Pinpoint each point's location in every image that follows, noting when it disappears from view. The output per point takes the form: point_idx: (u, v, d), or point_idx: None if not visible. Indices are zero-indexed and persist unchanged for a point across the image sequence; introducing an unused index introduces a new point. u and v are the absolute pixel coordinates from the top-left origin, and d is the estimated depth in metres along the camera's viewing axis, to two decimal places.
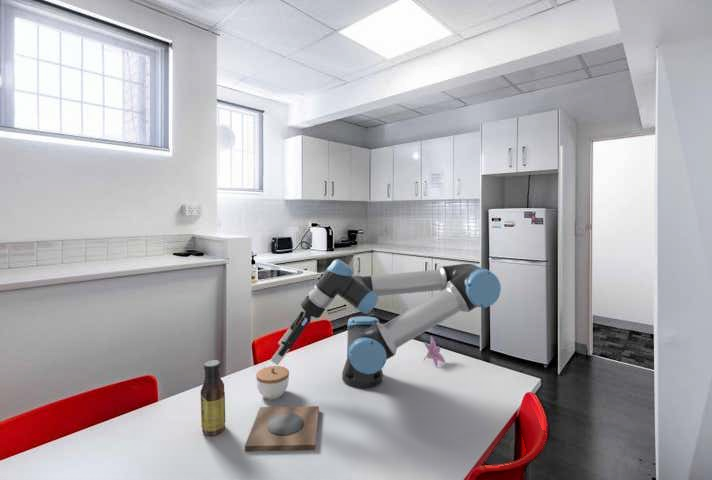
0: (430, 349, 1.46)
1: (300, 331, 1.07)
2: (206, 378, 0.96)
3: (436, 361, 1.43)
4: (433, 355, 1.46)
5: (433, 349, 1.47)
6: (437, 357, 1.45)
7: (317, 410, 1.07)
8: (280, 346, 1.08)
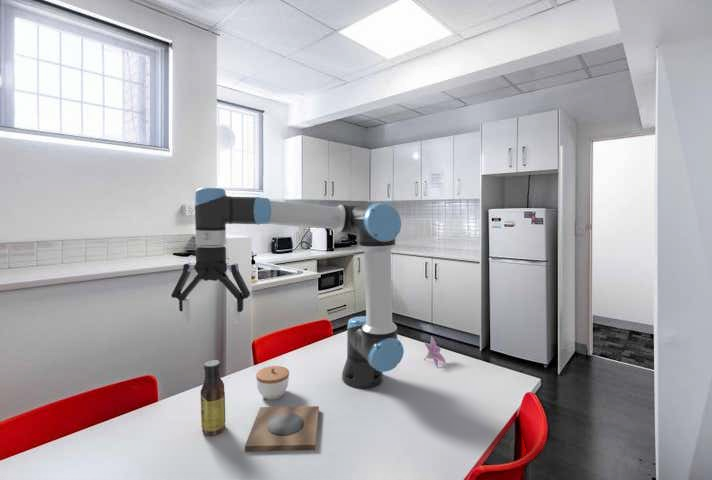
0: (430, 349, 1.46)
1: (240, 276, 0.96)
2: (206, 378, 0.96)
3: (436, 361, 1.43)
4: (433, 355, 1.46)
5: (433, 349, 1.47)
6: (438, 357, 1.45)
7: (317, 410, 1.07)
8: (234, 306, 0.95)
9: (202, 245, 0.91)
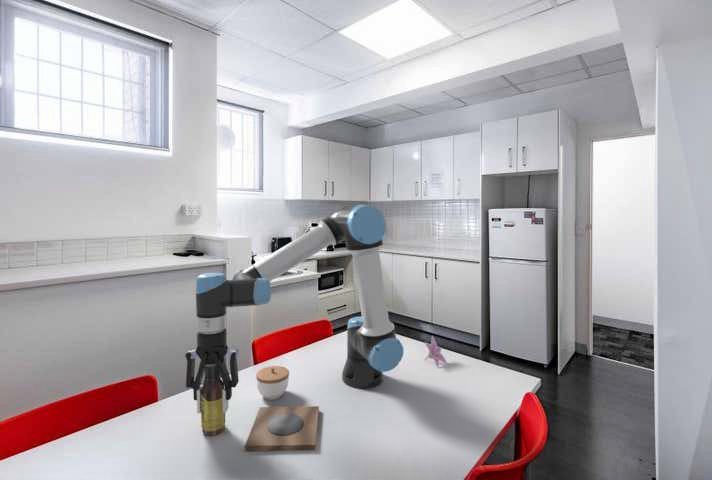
0: (431, 349, 1.46)
1: (236, 363, 0.98)
2: (206, 378, 0.96)
3: (437, 361, 1.43)
4: (434, 355, 1.46)
5: (434, 349, 1.47)
6: (438, 357, 1.45)
7: (317, 410, 1.07)
8: (222, 395, 0.97)
9: (203, 332, 0.93)
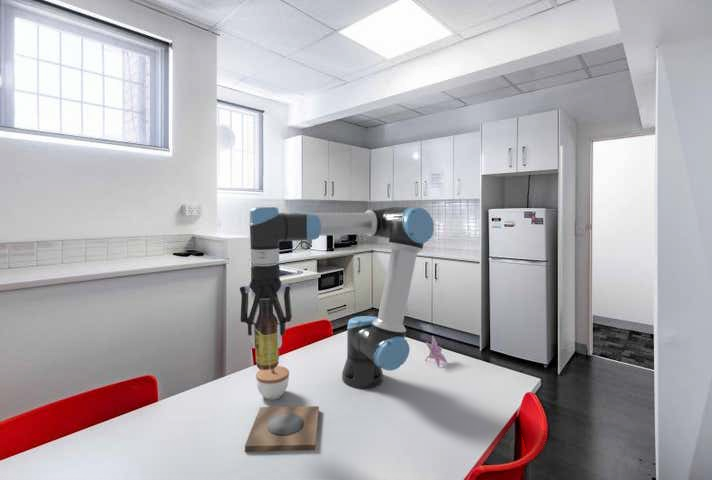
0: (432, 349, 1.46)
1: (289, 298, 0.98)
2: (261, 312, 0.95)
3: (438, 361, 1.43)
4: (435, 355, 1.46)
5: (435, 349, 1.47)
6: (439, 357, 1.45)
7: (317, 410, 1.07)
8: None
9: (258, 264, 0.93)
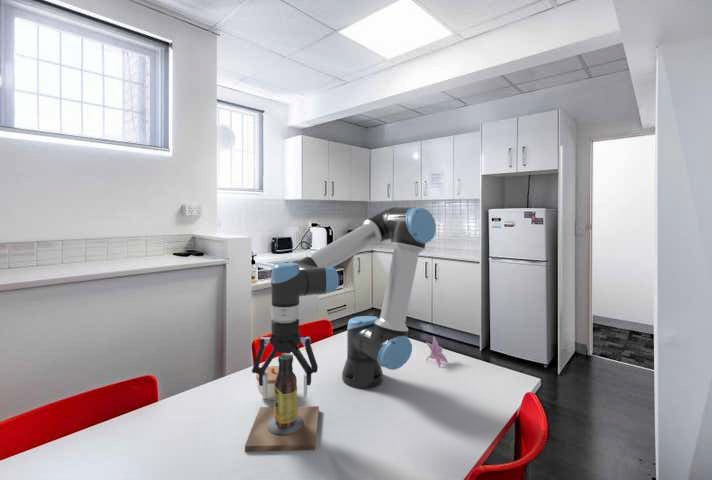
0: (433, 349, 1.46)
1: (311, 349, 0.99)
2: (281, 371, 0.97)
3: (439, 361, 1.43)
4: (436, 355, 1.46)
5: (436, 349, 1.47)
6: (440, 357, 1.45)
7: (317, 410, 1.07)
8: None
9: (279, 321, 0.94)
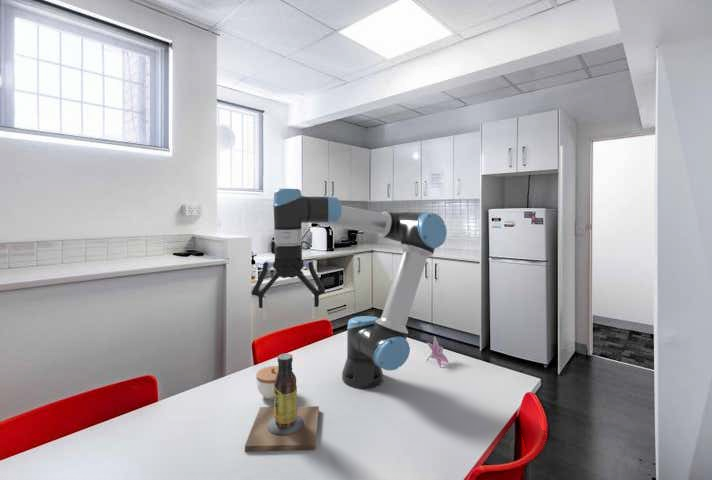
0: (433, 349, 1.46)
1: (316, 273, 1.00)
2: (280, 371, 0.96)
3: (440, 361, 1.43)
4: (436, 355, 1.46)
5: (436, 349, 1.47)
6: (441, 357, 1.45)
7: (317, 410, 1.07)
8: None
9: (283, 244, 0.95)
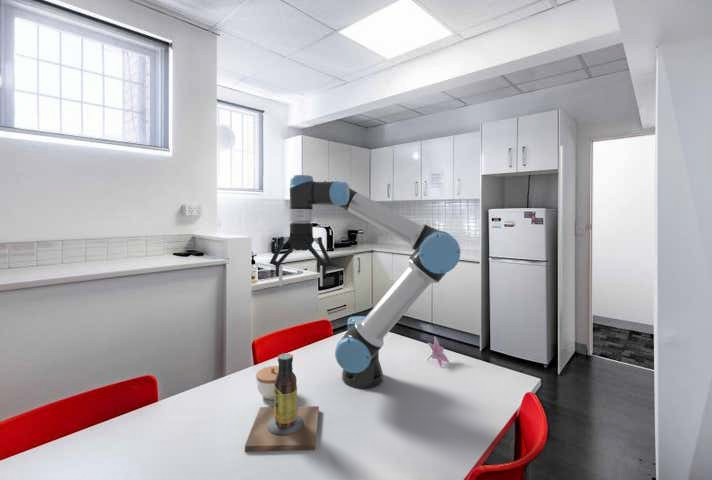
0: (434, 349, 1.46)
1: None
2: (280, 371, 0.97)
3: (440, 361, 1.43)
4: (437, 355, 1.46)
5: (437, 349, 1.47)
6: (441, 357, 1.45)
7: (317, 410, 1.07)
8: (320, 271, 1.17)
9: (297, 221, 1.14)
